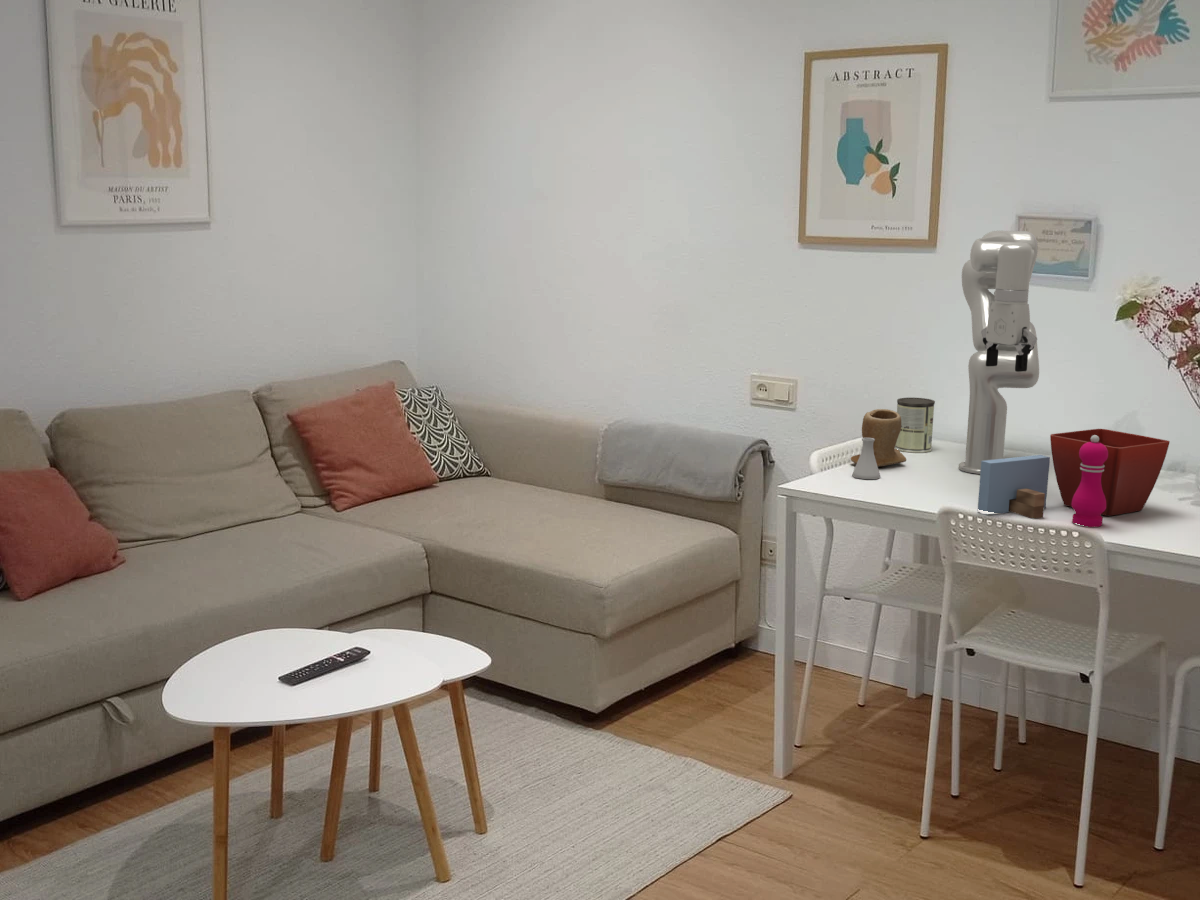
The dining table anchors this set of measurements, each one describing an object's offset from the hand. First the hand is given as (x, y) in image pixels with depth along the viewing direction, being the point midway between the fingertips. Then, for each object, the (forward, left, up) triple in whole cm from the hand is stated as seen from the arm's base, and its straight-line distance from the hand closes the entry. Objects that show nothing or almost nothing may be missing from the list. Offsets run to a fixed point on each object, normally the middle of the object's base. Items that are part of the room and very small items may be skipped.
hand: (1005, 368), depth 314 cm
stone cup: (-21, -30, -31) cm, 48 cm away
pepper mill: (+25, +20, -31) cm, 44 cm away
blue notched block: (+18, +4, -30) cm, 35 cm away
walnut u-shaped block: (+18, +4, -30) cm, 35 cm away
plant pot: (+8, +24, -31) cm, 40 cm away
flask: (-5, -32, -31) cm, 45 cm away
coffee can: (-47, -24, -31) cm, 61 cm away
